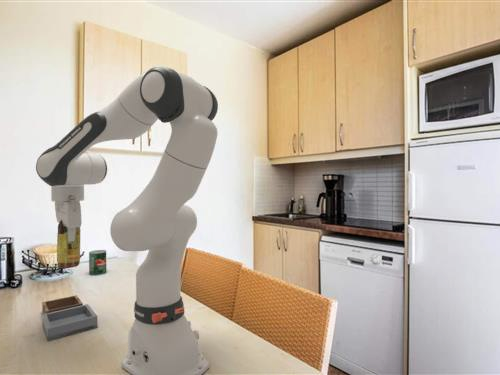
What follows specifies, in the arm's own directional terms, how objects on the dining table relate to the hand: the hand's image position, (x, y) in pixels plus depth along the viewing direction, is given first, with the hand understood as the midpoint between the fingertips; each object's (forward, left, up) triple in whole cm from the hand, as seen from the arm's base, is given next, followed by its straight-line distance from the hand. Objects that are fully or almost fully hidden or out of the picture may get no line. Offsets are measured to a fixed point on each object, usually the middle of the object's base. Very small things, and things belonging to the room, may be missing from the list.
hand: (68, 239), depth 97 cm
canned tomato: (+58, -22, -28) cm, 68 cm away
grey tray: (0, 0, -27) cm, 27 cm away
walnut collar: (+13, 0, -27) cm, 30 cm away
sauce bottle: (0, 0, -9) cm, 9 cm away
